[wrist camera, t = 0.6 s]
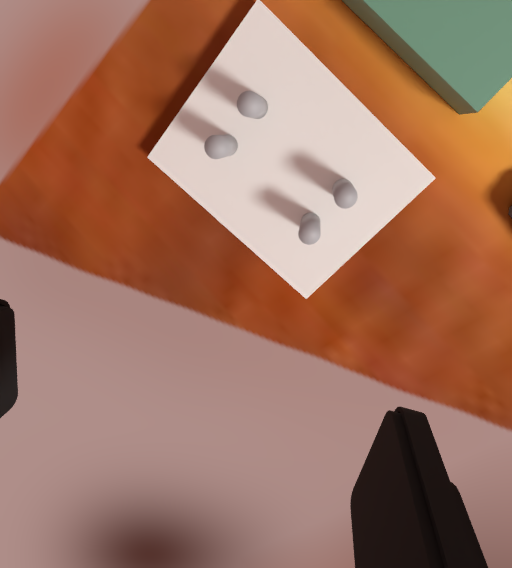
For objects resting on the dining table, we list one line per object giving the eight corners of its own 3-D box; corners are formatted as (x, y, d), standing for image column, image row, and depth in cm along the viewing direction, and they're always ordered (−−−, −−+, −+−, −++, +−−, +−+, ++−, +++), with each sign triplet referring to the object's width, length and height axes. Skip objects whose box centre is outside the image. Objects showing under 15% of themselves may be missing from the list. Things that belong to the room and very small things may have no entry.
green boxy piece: (381, -111, 25) (392, -152, 22) (528, 41, 27) (561, 27, 23) (318, -21, 28) (318, -44, 24) (458, 114, 29) (477, 112, 26)
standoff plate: (261, 5, 28) (248, -23, 23) (430, 175, 31) (452, 184, 26) (154, 156, 34) (124, 160, 28) (306, 292, 36) (304, 319, 31)
